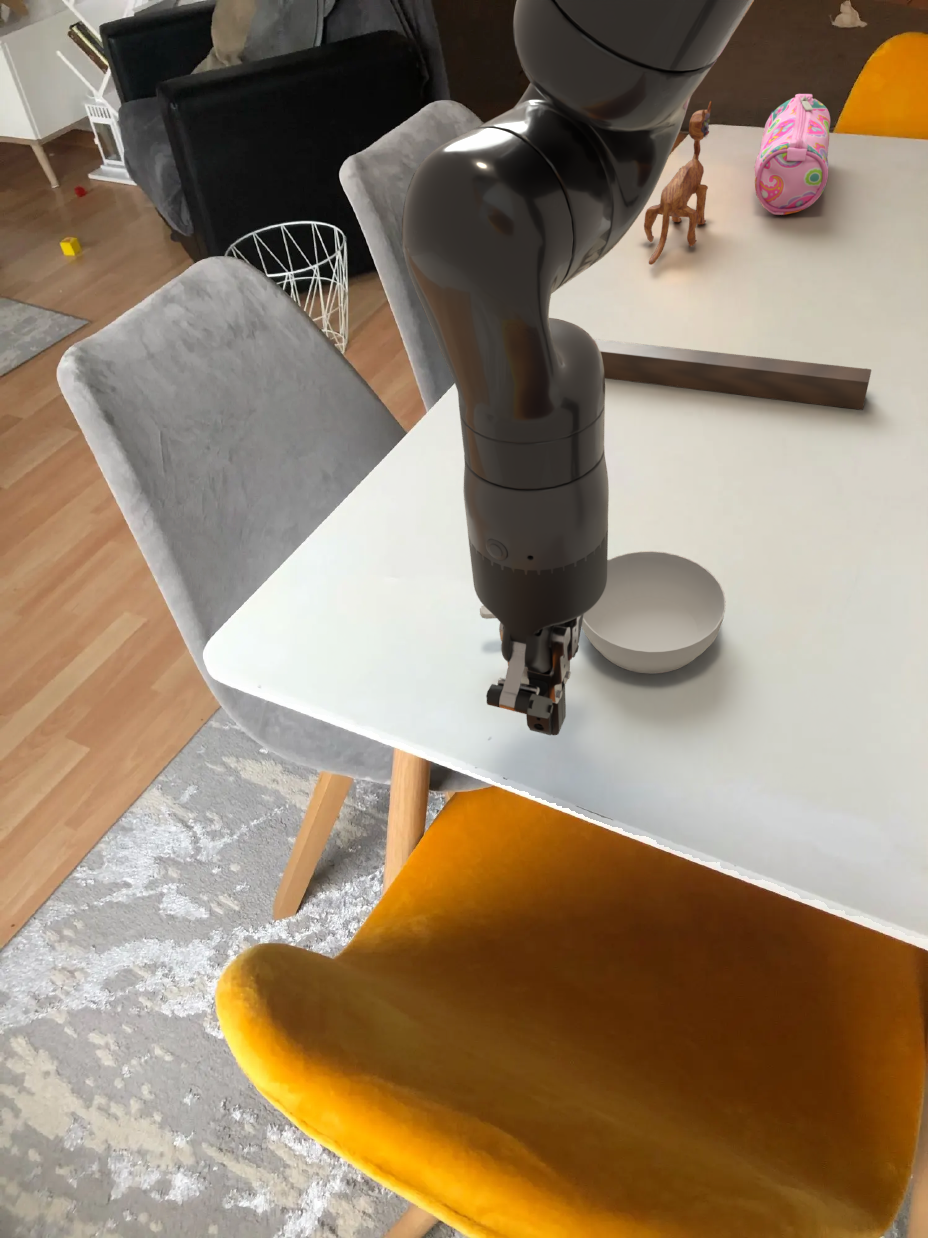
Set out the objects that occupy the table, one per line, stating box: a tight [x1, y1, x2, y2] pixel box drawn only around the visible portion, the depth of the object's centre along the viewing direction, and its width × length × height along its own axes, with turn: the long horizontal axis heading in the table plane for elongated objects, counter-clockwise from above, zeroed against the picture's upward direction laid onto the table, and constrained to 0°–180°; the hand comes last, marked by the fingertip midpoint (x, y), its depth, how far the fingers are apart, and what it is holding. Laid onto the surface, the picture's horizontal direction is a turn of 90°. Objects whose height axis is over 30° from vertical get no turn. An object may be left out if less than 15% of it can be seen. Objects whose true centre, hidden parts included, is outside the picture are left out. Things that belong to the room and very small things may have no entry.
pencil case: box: [754, 93, 831, 216], centre depth 126 cm, size 21×9×9 cm, turn 163°
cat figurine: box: [643, 100, 713, 265], centre depth 116 cm, size 18×7×14 cm, turn 153°
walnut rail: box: [593, 338, 872, 411], centre depth 96 cm, size 30×2×3 cm, turn 68°
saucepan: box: [479, 550, 727, 674], centre depth 72 cm, size 11×18×4 cm, turn 91°
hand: (546, 724), depth 63 cm, fingers closed
